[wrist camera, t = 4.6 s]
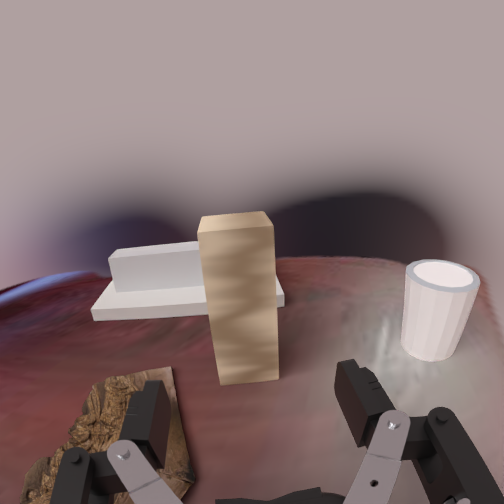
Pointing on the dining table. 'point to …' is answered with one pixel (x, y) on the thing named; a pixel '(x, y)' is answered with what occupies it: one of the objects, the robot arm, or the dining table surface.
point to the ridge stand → (156, 284)
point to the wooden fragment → (114, 436)
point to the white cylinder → (436, 307)
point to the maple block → (241, 295)
